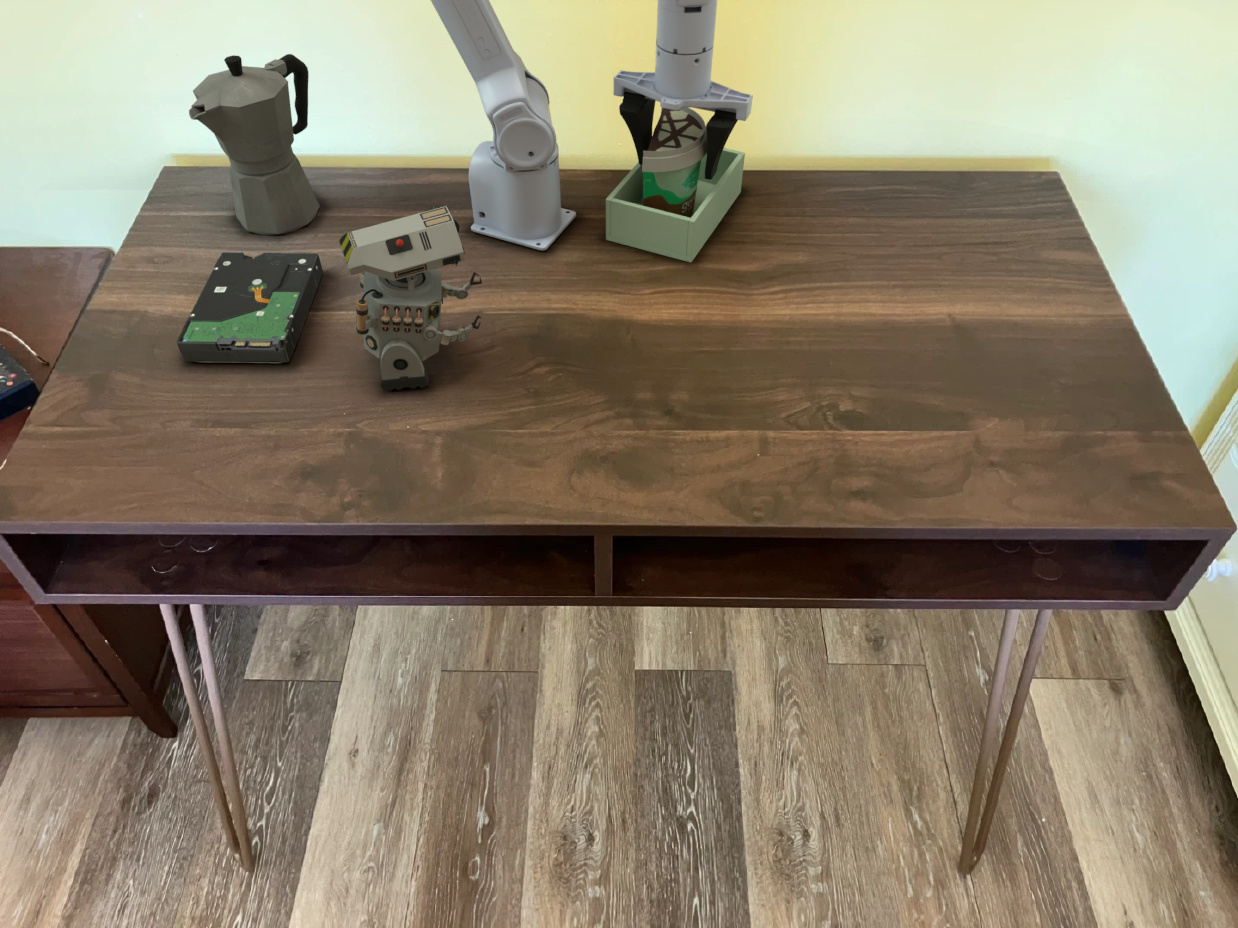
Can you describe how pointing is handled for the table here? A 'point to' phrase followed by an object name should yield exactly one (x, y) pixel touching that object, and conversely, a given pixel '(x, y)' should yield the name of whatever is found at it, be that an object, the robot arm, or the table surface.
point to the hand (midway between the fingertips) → (677, 167)
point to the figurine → (405, 291)
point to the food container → (674, 161)
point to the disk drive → (251, 308)
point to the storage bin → (668, 229)
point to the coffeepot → (260, 141)
